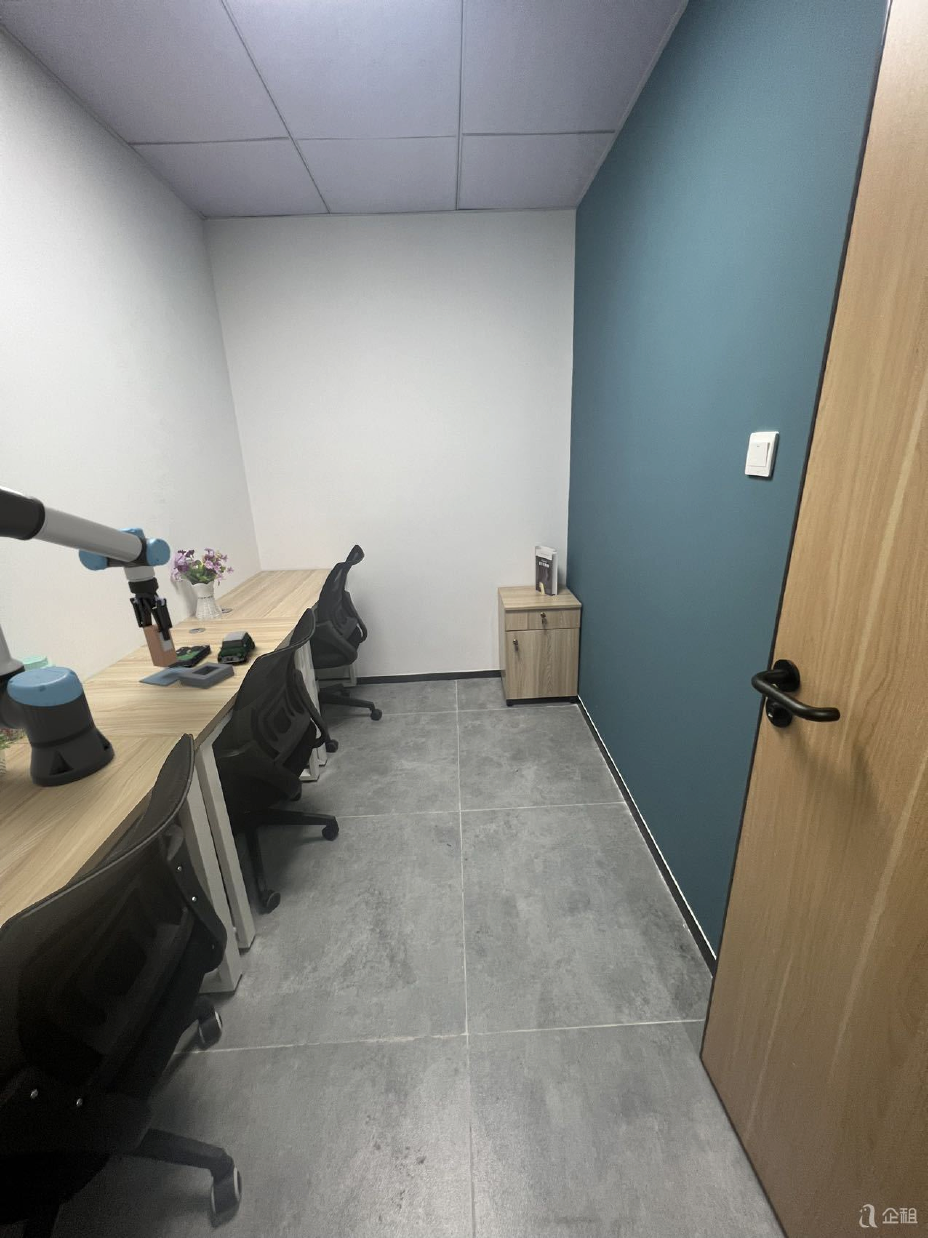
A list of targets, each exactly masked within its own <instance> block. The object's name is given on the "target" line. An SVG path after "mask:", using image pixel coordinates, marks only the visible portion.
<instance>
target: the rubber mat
mask: <svg viewBox="0 0 928 1238" xmlns="http://www.w3.org/2000/svg"><path fill="white" fill-rule="evenodd" d="M191 669H192V668H190V667H185V666H179V667H165V669H162V670H160V671H158V672H155V673H154V674H152V675H149V676H147V677H144V678H142V679H140V680H138V681H139V683H140V684H141V683H142V684H148V685H152V686H153V685H154V686H160V687H165V688H166V687H168V686H170V685H172V684H175V682H176V683H177V682H178V681H180V680H179V677H178V676H179V675H181V674H183V673H185V672H187V671H189V670H191Z"/></svg>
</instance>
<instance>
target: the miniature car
mask: <svg viewBox="0 0 928 1238" xmlns="http://www.w3.org/2000/svg"><path fill="white" fill-rule="evenodd" d="M221 641H222V642H221V646H220V647H219V650H220V651H219V652H218V653H217V657H216V661H217V663H220V664H227V663H232V662H233V663H234V662H237V663H239V662H240V661H241V662H242V664H244V663H247V662H248V657H249V655H250V654H251V653H250V652H252V651H253V650H256V644H255V641H254V639H253V637H252V636H251V635H250V634H249V633H248V631H247V630H238V631H233V632H230V633H227V634H226V635H225V637H223V639H222V640H221Z"/></svg>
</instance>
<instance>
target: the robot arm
mask: <svg viewBox="0 0 928 1238" xmlns="http://www.w3.org/2000/svg"><path fill="white" fill-rule="evenodd" d="M0 537H1V538H10V539H13V540H14V539H15V540H18V541H24V542H25V541H30V540H33V539H34V540H38V541H43V542H46V543H51V544H55V545H58V546H63V547H66V548H71V549H74V550H78V558H79V561H80V563H81V565H82V566H83V567H85V568H86V569H88V570H90V571H94V572H96V571H97V572H98V571H104V570H106V569H109V568H123V571H124V575H125V578H126V580H127V581H128V583H127V585H128V587H129V591H130V594H134V597H129V601H130V604H131V606H132V609H133V612H134V615H135V618H136V619H135V620H136V622H137V627H138V628H141V629H143V628H145V627H148V626H150V625H153V619H154V622H155V624H157V626H158V628H159V630H160V631H158V634H159V637H160V641H161V644H162V648H163V651H167V650H170V649H172V644H171V640H170V635H169V631H168V630H169V629H170V630H171V629H172V628H173V622H172V619H171V615H170V612H169V609H168V604H167V603H168V602H167V601H168V599H167V598H165V597H164V598H161V597H160V595H159V594H158V593H157V590H159V588H160V586H159V582H158V578H157V577H156V571H155V569H154V567H157V566H164V565H166V564H168V563H169V561H170V559H171V548H170V545H169V543H167V541H165V540H164V539H163V538H156V537H155V538H154V537H150V538H147V537H146V535H145V533H144V530H143V528H141V527H138V526H132V527H131V526H129V527H123V528H121V527H120V528H117V529H116V528H113V527H111V526H107V525H106V524H102V523H99V522H96V521H93V520H89V519H87V518H84V517H80V516H77V515H74V514H71V513H69V512H65V511H62V510H59V509H55V508H52V507H49V506H47V505H45V504H44V502H43V501H42V500H40V499H39V498H37V497H34V496H31V495H29V494H26V493H24V492H19V491H17V490H14V489H11V488H8V487H5V486H1V485H0ZM1 625H2V624H0V729H2V730H5V729H7V730H24V733H25V735H26V738H27V740H28V742H29V745H30V748H31V751H30V752H31V753H30V767H29V773H30V776H31V779H32V782H33V783H34V785H36V786H40V787H53V786H60V785H65V784H68V783H73V782H75V781H77V780H82V779H83V778H85V777H87V776H89V775H92V774H94V773H95V772H98V771H99V770H100V769H102V768H104V767H105V766H106V765H107V764H108V763H110V762H111V760H112V759H113V758H114V756H115V750H114V748H113V745H112V743H111V742H110V740H109V739H108V738H107V737H106V736H105V734H103V733H102V731H100V729H99V728H98V727H97V726H96V724H95V721H94V718H93V715H92V712H91V709H90V705H89V703H88V700H87V697H86V694H85V691H84V687H83V684H82V682H81V681H80V679H79V677H78V675H77V673H76V671H74V670H73V669H70V668H68V667H63V666H46V667H42V668H41V667H38V668H37V667H36V668H33V669H28V670H26V669H25V668H26V667H25V665H24V662H23V661H22V660H21V661H20V660H18V659H15V658H13V657H12V655H11V651H10V649H9V645H8V642H7V640H6V637H5V635H4V631H3V628H2V626H1Z"/></svg>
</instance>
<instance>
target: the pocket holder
mask: <svg viewBox="0 0 928 1238" xmlns="http://www.w3.org/2000/svg"><path fill="white" fill-rule="evenodd" d="M234 674H235V671H234V666H233V664H227V663H224V664H220V663H218V662H212V661H206V662H204V663H201V664H200V665H197V666H196V667H193V668H191V670H189V671H187V672H185V673H183V674H181V675H179V676H178V677H179V680H178V681H179V683H180V686H181V685H182V686H187V687H188V686H189V687H195V688H201V689H209V688H210V687H212V686H214V685H216V684H217V683H219V682H221V681H223V680H225V679H227V678H228V677H230V676H232V675H234Z"/></svg>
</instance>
